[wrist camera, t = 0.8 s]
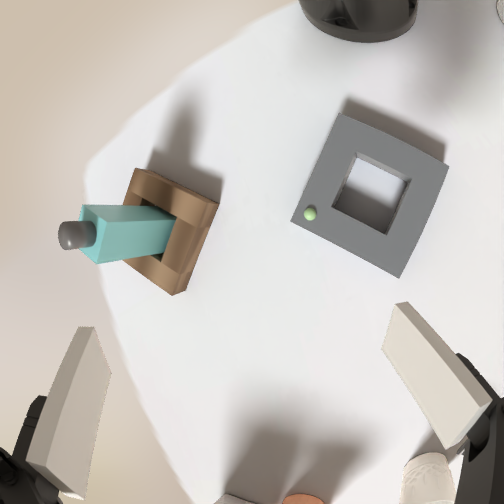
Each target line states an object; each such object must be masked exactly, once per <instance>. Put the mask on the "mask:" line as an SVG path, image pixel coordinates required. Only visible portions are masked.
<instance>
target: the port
mask: <svg viewBox="0 0 504 504" xmlns="http://www.w3.org/2000/svg"><path fill="white" fill-rule="evenodd" d="M356 158H360V159H362V160H364V161H366V162H368V163H370V164H372V165H374V166H376V167H378V168H380V169H382V170H384V171H386V172H388V173H390V174H392V175H394V176H396V177H398V178H400V179H402V180H404V181H406V182H408V184H407V186H406V188H405V191H404V193H403V195H402V198H401V200H400V202H399V204H398V207H397V209H396V211H395V213H394V215H393V218H392V220H391V222H390V224H389V226H388V228H387V230H386V232H385V234H383V233H381V232H379V231H378V230H376V229H374V228H372V227H370V226H368V225H366V224H364V223H362V222H360V221H358V220H356V219H355V218H353V217H351V216H349V215H347V214H345V213H343V212H341V211H339V210H337V209H335V208H334V207H335V205H336V203H337V200H338V198H339V196H340V194H341V192H342V190H343V187H344V185H345V183H346V181H347V178H348V176H349V174H350V172H351V169H352V167H353V165H354V163H355V160H356ZM448 169H449V166H448V165H446V164H445V163H443V162H441V161H439V160H438V159H436V158H434V157H432V156H430V155H429V154H427V153H425V152H423V151H421V150H419V149H417V148H415V147H413V146H412V145H410V144H408V143H406V142H404V141H402V140H400V139H398V138H395V137H393V136H391V135H389V134H387V133H385V132H383V131H381V130H378V129H376V128H374V127H372V126H369V125H367V124H365V123H363V122H360V121H358V120H355V119H353V118H351V117H348V116H346V115H343V114H341V113H339V114H338V116H337V119H336V121H335V123H334V125H333V128H332V130H331V132H330V134H329V137H328V139H327V141H326V144H325V146H324V148H323V150H322V153H321V155H320V157H319V159H318V161H317V164H316V166H315V168H314V170H313V173H312V175H311V177H310V179H309V181H308V184H307V186H306V188H305V190H304V192H303V195H302V197H301V199H300V201H299V203H298V206H297V208H296V210H295V212H294V214H293V216H292V219H291V222H293V223H295V224H297V225H299V226H301V227H303V228H304V229H306V230H308V231H310V232H312V233H314V234H316V235H318V236H320V237H322V238H324V239H326V240H328V241H330V242H332V243H334V244H336V245H338V246H339V247H341V248H343V249H345V250H347V251H349V252H351V253H353V254H355V255H357V256H358V257H360V258H362V259H364V260H366V261H368V262H370V263H371V264H373V265H375V266H377V267H379V268H381V269H382V270H384V271H386V272H388V273H390V274H392V275H393V276H395V277H397V278H400V276H401V274H402V272H403V270H404V268H405V266H406V264H407V262H408V260H409V258H410V256H411V254H412V252H413V250H414V248H415V246H416V244H417V242H418V240H419V238H420V236H421V234H422V232H423V229H424V227H425V225H426V223H427V220H428V218H429V216H430V214H431V211H432V209H433V207H434V204H435V202H436V200H437V197H438V195H439V192H440V190H441V187H442V185H443V182H444V179H445V177H446V174H447V171H448Z"/></svg>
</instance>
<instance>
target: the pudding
mask: <svg viewBox="0 0 504 504" xmlns="http://www.w3.org/2000/svg"><path fill="white" fill-rule="evenodd" d="M497 10H498V13H499V16H500V18H501V20H502V22H503V24H504V0H498V2H497Z"/></svg>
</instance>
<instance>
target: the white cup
mask: <svg viewBox="0 0 504 504" xmlns="http://www.w3.org/2000/svg"><path fill="white" fill-rule="evenodd" d="M455 498H456V490H455V486H454V482H453V478H452V475H451V471H450V469H449V466H448V462H447V459H446V457H445V455H443V454H440V453H438V452H428V453H425V454H422V455H419V456H417V457H415V458H414V459H412V460H410V461H409V462H408V463H407V465H406V466H405V467H404V470H403V479H402V484H401V492H400V501H399V504H454V502H455Z"/></svg>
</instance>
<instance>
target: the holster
mask: <svg viewBox="0 0 504 504" xmlns="http://www.w3.org/2000/svg"><path fill="white" fill-rule="evenodd" d="M123 205H130V206H155V205H157V206H158V207H160V208H162V209H164V210H166V211H167V212H169V213H171V214H173V215H175V216H176V217H177V218H176V221H175V224H174V226H173V229H172V232H171V235H170V238H169V240H168V243H167V246H166V249H165V252H164V253H158V254H152V255H146V256H141V257H135V258H129V259H123V261H124V262H126V263H127V264H128V265H130V266H131V267H132V268H134V269H135V270H136V271H138V272H139V273H140V274H142V275H143V276H145V277H146V278H147V279H149V280H150V281H152V282H153V283H154V284H156V285H157V286H159V287H160V288H161V289H163V290H164V291H166V292H167V293H169V294H170V295H171V296H173V295H175V294H178V293H180V292H183V291H185V290H186V287H187V285H188V282H189V280H190V277H191V274H192V272H193V269H194V266H195V264H196V261H197V259H198V256H199V254H200V251H201V248H202V246H203V243H204V241H205V238H206V236H207V233H208V231H209V228H210V226H211V223H212V221H213V219H214V216H215V214H216V211H217V209H218V206H219V204H218V203H216V202H214V201H212V200H210V199H208V198H206V197H204V196H202V195H200V194H198V193H196V192H194V191H192V190H190V189H188V188H185V187H183V186H181V185H179V184H177V183H175V182H173V181H171V180H169V179H167V178H165V177H163V176H160V175H158V174H156V173H154V172H152V171H150V170H145V169H139V168H135V170H134V172H133V175H132V178H131V181H130V184H129V187H128V190H127V193H126V196H125V199H124V202H123Z"/></svg>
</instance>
